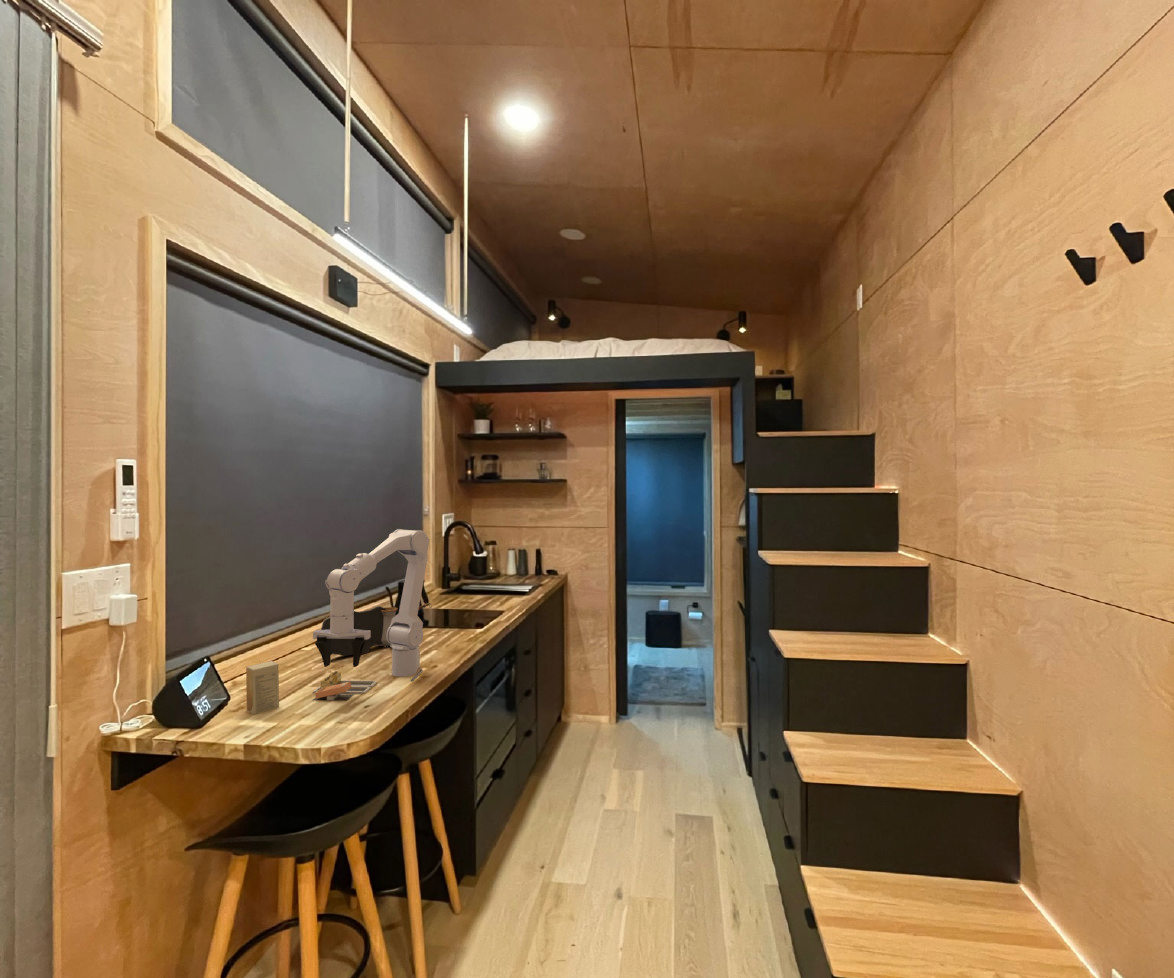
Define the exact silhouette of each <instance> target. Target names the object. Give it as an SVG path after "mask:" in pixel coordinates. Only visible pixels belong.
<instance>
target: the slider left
mask: <svg viewBox="0 0 1174 978" xmlns="http://www.w3.org/2000/svg"><path fill="white" fill-rule="evenodd" d="M328 677H330V678H333V685H338V684H340V683H341V680H342V672H338V671H337V670H335V671H334V672H331V673H330V674H328Z"/></svg>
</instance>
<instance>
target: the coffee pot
mask: <svg viewBox="0 0 1174 978" xmlns="http://www.w3.org/2000/svg"><path fill="white" fill-rule="evenodd" d="M426 607H429V608H430V609H433V607H432V604H431V603H430V602H429V603H426V604H423V605H419V609H418V611H419V610H421V609H423V608H424V609H425V608H426ZM383 608H384V609H386V610H387V611H384V610H381V612H382V614H383V616H384V619H383V633H382V639H381V641H382V643H383V644H378V645H376V646H377V647H379V646H384V647H383V648H389V647H388V646H391V644H390V643H389V642H388V641H387V637H386V634H387V630H388V628H389V627H390V625H391V621H392V619H393V618H394V617H395V616H396V615H397V614H396V613H397V611H398V607H395V606H394V607H393V606H392V607H391V606H389V607H383ZM386 646H387V647H386Z"/></svg>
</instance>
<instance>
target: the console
mask: <svg viewBox="0 0 1174 978" xmlns="http://www.w3.org/2000/svg"><path fill="white" fill-rule="evenodd" d="M346 682H351V688H350V689H349V690H347V691H346V692H343V693H338V694H334V695H330V696H326V697H322V698H317V699H316V697H315V696H314V698H313V699H312V701H322V702H323V701H325V702H326V701H330V702H331V701H333V702H336V701H337V702H339V701H341V702H347V701H349V700H350V699H351V698H352V697H354V695H363V694H367V692H369V691H370V692H371V693H372V692H374V690H371V688H373V687H374V686H375V685H376V684H377V685H376V686H379V687H381V684H378V681H376V680H369V679H368V680H367V679H366V680H365V679H363V680H362V679H361V680H358V679H356V680H355V679H354V680H353V679H352V680H351V679H347V680H346V679H341V683H340V684H342V683H346ZM320 687H321V685H320V686H318V687H316V688H315V689H313V690H312V694H315V693H316V692H317V691H318V690H320Z"/></svg>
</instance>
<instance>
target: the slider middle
mask: <svg viewBox="0 0 1174 978" xmlns="http://www.w3.org/2000/svg"><path fill="white" fill-rule="evenodd" d="M320 686H321V687H320V689H321V688H325V687H329V686H333V678H330V677H329V676H326V677H324V678H322V679H321V680H320Z"/></svg>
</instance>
